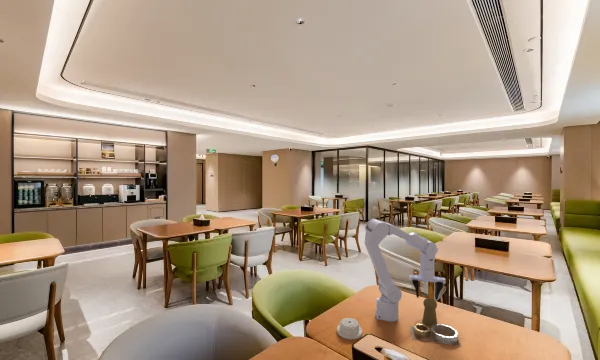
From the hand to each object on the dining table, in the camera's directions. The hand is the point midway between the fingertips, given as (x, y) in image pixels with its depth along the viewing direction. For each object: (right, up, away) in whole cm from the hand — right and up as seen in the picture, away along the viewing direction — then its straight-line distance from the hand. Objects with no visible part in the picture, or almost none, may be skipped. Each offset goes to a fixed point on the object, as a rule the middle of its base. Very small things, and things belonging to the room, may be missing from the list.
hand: (426, 297), depth 127 cm
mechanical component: (-36, -9, -12) cm, 39 cm away
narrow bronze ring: (-9, -8, -15) cm, 19 cm away
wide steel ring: (-1, -8, -17) cm, 19 cm away
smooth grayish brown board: (-4, -9, -16) cm, 19 cm away
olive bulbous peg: (-2, -9, -7) cm, 12 cm away
